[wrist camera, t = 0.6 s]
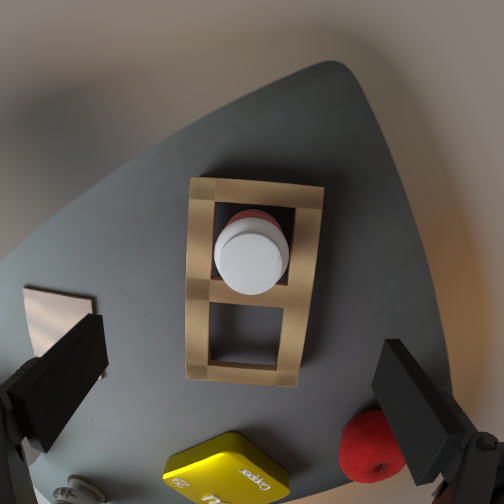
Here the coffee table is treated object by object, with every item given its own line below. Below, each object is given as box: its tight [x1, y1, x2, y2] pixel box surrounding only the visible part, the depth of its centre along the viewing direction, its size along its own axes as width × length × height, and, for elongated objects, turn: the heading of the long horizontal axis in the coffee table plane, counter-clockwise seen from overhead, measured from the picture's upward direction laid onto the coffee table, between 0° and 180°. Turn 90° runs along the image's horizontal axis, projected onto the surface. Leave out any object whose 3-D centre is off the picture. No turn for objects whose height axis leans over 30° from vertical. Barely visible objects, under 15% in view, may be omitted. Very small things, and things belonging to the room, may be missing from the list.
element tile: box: [162, 432, 290, 504], centre depth 40 cm, size 15×15×5 cm
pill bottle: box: [214, 209, 289, 295], centre depth 29 cm, size 6×6×11 cm
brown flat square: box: [22, 287, 103, 380], centre depth 37 cm, size 12×12×1 cm
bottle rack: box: [185, 177, 324, 387], centre depth 34 cm, size 22×13×4 cm, turn 175°
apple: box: [339, 410, 406, 483], centre depth 34 cm, size 10×10×11 cm
